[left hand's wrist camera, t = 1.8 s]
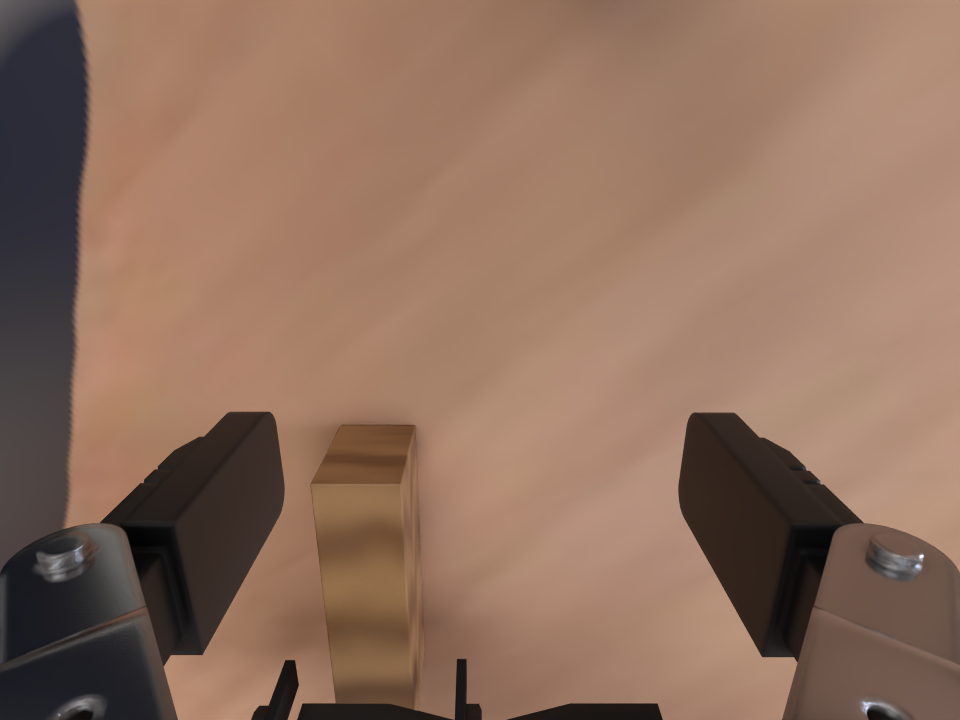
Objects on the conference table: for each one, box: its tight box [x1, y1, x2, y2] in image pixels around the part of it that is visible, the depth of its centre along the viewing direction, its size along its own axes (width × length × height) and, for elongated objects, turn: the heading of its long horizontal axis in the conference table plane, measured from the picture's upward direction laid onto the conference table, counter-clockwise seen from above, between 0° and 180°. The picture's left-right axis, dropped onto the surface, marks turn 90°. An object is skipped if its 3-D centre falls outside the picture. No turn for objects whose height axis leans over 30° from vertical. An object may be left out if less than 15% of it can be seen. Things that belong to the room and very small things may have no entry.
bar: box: [311, 425, 425, 711], centre depth 45 cm, size 23×6×9 cm, turn 0°
